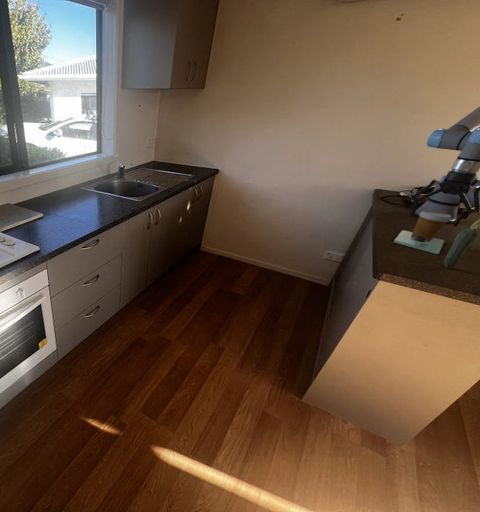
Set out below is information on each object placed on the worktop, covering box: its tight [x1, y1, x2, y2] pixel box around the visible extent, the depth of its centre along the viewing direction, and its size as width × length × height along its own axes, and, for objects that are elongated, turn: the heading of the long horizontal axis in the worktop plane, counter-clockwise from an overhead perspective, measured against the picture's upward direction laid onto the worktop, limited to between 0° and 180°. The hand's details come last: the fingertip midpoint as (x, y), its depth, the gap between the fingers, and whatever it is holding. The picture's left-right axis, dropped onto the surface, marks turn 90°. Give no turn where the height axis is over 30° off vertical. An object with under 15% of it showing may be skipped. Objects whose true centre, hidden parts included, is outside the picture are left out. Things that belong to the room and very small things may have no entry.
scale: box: [393, 229, 445, 255], centre depth 128 cm, size 18×14×3 cm
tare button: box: [415, 236, 426, 242], centre depth 124 cm, size 3×3×2 cm
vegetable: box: [443, 217, 480, 269], centre depth 105 cm, size 4×4×20 cm
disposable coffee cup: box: [411, 210, 451, 242], centre depth 127 cm, size 10×10×12 cm
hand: (432, 220), depth 126 cm, fingers open, 13 cm apart
